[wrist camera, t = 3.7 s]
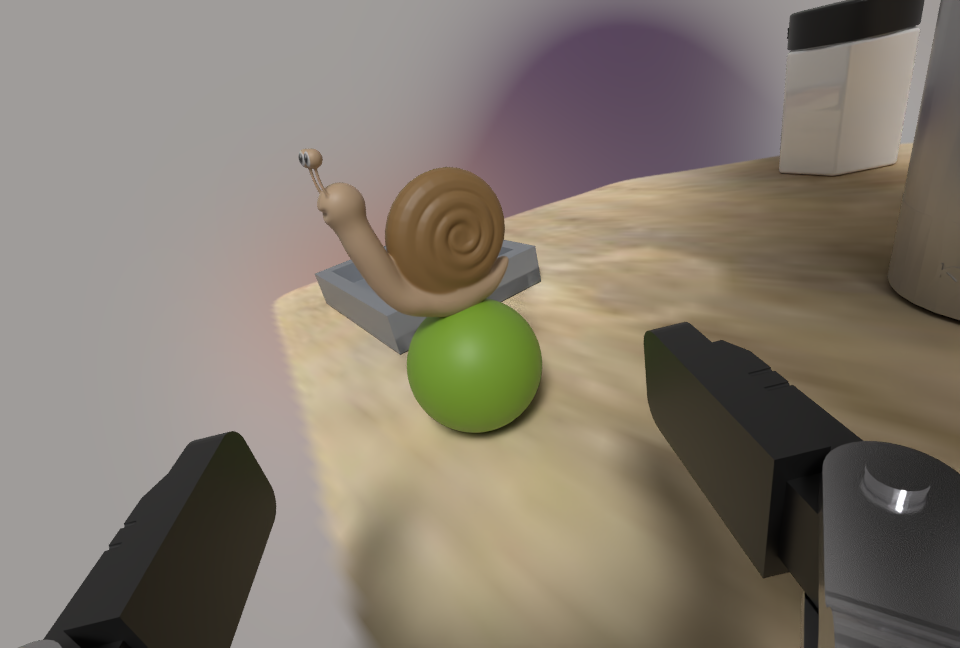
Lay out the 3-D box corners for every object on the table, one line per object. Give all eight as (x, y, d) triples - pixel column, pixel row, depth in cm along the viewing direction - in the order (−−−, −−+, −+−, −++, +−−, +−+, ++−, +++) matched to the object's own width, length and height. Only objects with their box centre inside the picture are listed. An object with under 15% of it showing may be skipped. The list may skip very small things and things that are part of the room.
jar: (859, 145, 44) (881, -8, 38) (928, 159, 37) (968, -28, 31) (756, 165, 45) (764, 20, 40) (804, 183, 38) (821, 7, 32)
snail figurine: (387, 428, 21) (279, 152, 16) (503, 365, 24) (444, 108, 18) (443, 500, 17) (320, 150, 11) (578, 413, 19) (530, 94, 14)
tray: (442, 253, 42) (434, 226, 41) (541, 280, 32) (535, 246, 31) (326, 302, 37) (314, 273, 36) (400, 354, 27) (387, 316, 26)
